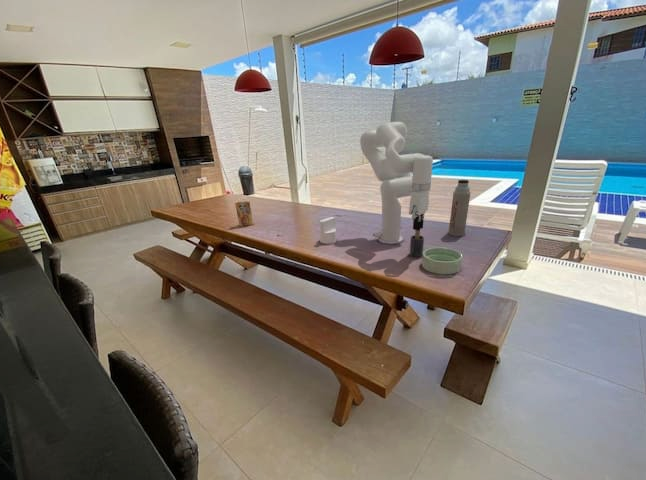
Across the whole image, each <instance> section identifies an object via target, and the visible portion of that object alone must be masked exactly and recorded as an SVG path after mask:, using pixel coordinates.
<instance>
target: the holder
mask: <svg viewBox="0 0 646 480" xmlns="http://www.w3.org/2000/svg"><path fill="white" fill-rule="evenodd" d="M424 245H425V237H424V236H423V235H420V238H419V239H415V234H414V235H411V236H410V241H409V257H412V258H421V257H423V252H424V247H425V246H424Z"/></svg>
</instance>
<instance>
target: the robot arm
mask: <svg viewBox="0 0 646 480" xmlns="http://www.w3.org/2000/svg"><path fill="white" fill-rule="evenodd" d="M407 135H408V128H407V125H406V124H405V122H403V121H387V122H382V123H380V124H379V125H377V128H376V129H369V130H366V131H364V132H363V133H362V134H361V135H360V140H359V143H360V149H361V152H362V154H363V156H364V157H365V158H366V160H367V161H368V163H369V164H370V166H371V169H372V170H373V172H374V175H375V176H376V178H377V180H378V181H380V182H381V184H380V186H379V189H380V191H379V192H380V197H381V230H380V231H378V232H375V231H374V232H372V237H374V238H378V239H377V240H378V242H379V243H382V244H385V245H386V244H387V245H396V244H399V243H402V242H403V241H404V238H403V236H401V222H402V205H401V203H400V201H399V200H398V199H399V198H406V197H410V199H409V200H410V201H409V205H408V206H409V207H408V214H409V215H411V219H412V221H413V222H412V223H413V224H412V230H414V231H415V230H420V231H421V229H423V228H424V219H425V214H426V212H427V211H428V209H429V203H430V192H431V185H432V174H433V166H434V165H433V163H434V158H433V156H431V155H426V154H423V153H420V152H417V153H405V154H400V153H401V152H402V151H403V150H404V148H405V147H406V137H407ZM379 148H386V153H385V152H383V150H381V149H379ZM417 216H418V217H417ZM420 217H421V221H420Z"/></svg>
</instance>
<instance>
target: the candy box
mask: <svg viewBox="0 0 646 480" xmlns="http://www.w3.org/2000/svg"><path fill="white" fill-rule="evenodd" d="M234 205H235V210H236V216H237V221H238V225H239V227H243V226H251V225H254V220H253V214H252V208H251V202H250V200H249V199H248V200H240V201H235V202H234Z"/></svg>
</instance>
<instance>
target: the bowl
mask: <svg viewBox="0 0 646 480" xmlns="http://www.w3.org/2000/svg"><path fill="white" fill-rule="evenodd" d="M463 257H464V256H463V254H462V253H461V252H460V251H459V250H456V249H453V248H449V247H437V246H436V247H429V248H426V249H425V250H423V256H422V259H421V266H422V268H423V269H424V270H425V271H427V272H429V273H432V274H436V275H453V274H454V275H455V274H456V273H459V272H460V271H461V270H462V264H463Z"/></svg>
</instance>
